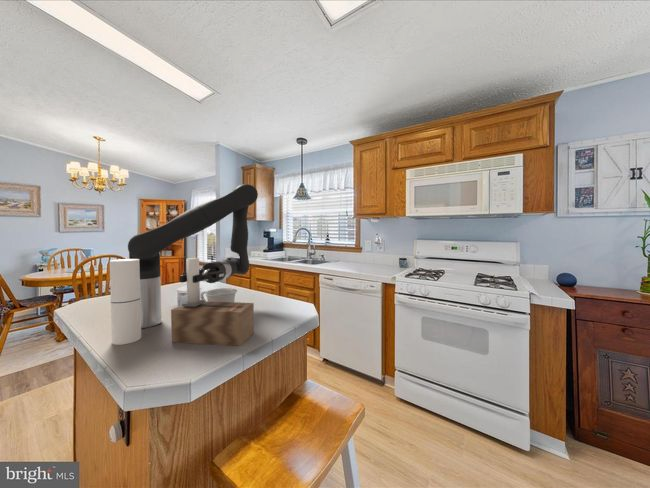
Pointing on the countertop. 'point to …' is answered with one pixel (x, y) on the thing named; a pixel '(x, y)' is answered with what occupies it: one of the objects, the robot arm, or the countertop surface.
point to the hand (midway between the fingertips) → (187, 279)
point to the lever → (192, 288)
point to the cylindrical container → (125, 301)
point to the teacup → (219, 295)
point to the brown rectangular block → (213, 323)
